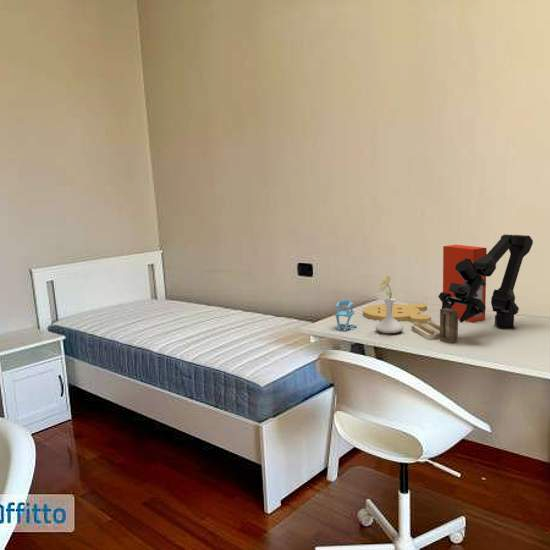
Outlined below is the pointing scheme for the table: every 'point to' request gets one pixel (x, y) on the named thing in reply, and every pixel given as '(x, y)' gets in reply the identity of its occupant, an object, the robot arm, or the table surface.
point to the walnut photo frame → (449, 325)
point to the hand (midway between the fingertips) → (450, 319)
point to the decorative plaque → (398, 312)
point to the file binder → (450, 275)
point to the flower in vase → (388, 311)
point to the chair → (344, 314)
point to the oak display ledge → (427, 330)
